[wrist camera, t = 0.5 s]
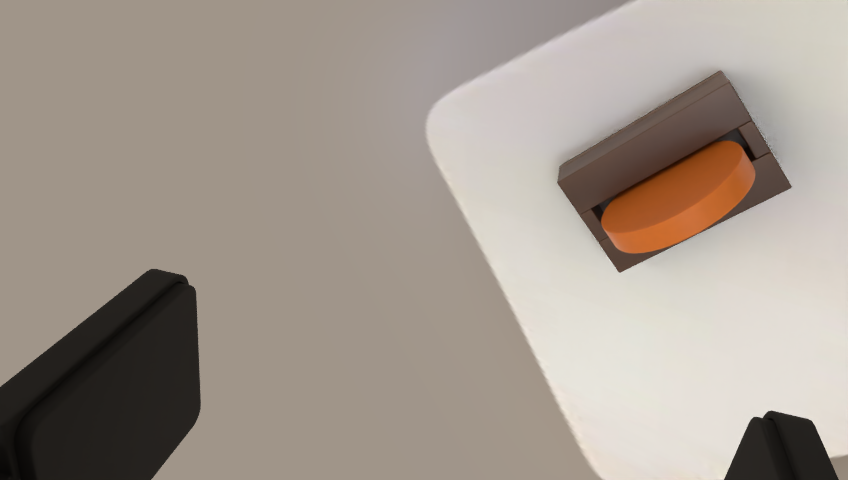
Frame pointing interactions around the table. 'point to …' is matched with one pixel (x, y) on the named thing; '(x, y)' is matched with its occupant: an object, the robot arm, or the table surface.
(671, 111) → the holder
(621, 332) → the table surface
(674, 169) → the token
